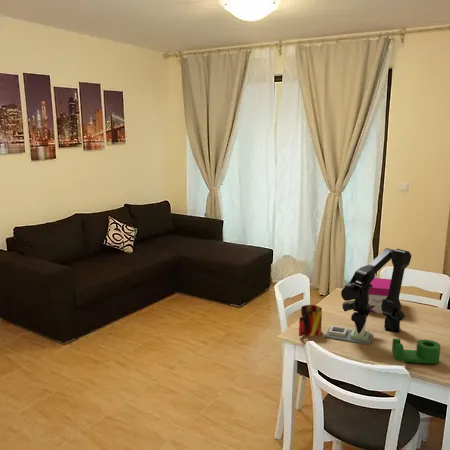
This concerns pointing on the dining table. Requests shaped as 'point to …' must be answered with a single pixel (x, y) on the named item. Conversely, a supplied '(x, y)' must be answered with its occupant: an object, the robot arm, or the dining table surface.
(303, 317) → the mug
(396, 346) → the green bracket
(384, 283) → the decorative box
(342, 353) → the dining table surface
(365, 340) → the panel
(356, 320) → the robot arm
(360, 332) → the plug
